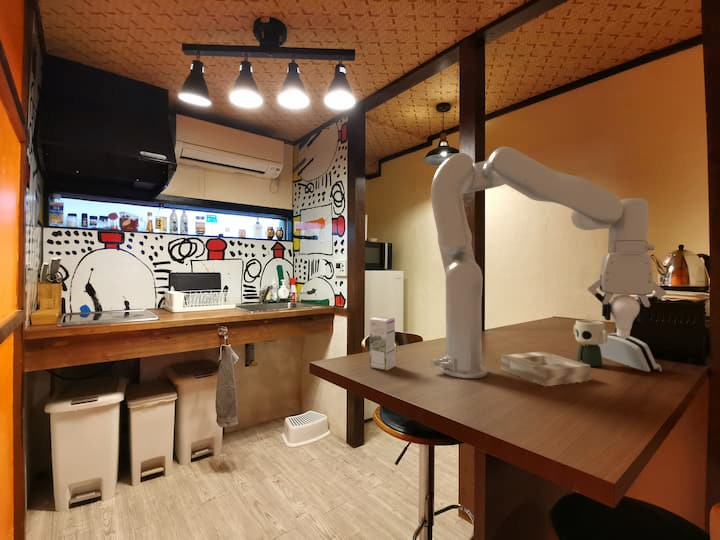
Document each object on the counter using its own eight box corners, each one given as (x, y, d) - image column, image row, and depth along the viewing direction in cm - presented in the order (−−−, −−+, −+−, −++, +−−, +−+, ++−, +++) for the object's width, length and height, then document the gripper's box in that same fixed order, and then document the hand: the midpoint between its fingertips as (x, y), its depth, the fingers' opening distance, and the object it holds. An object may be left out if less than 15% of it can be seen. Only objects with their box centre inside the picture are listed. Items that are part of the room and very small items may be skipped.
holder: (544, 387, 80) (544, 370, 80) (500, 369, 95) (500, 355, 94) (590, 380, 85) (590, 365, 85) (541, 364, 99) (541, 351, 99)
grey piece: (663, 371, 93) (652, 338, 92) (648, 377, 92) (637, 344, 92) (613, 355, 109) (604, 327, 109) (600, 360, 109) (591, 332, 109)
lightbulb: (601, 336, 86) (603, 293, 85) (623, 336, 86) (625, 294, 86) (622, 341, 79) (624, 296, 79) (645, 342, 80) (647, 296, 80)
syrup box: (395, 366, 98) (395, 317, 98) (386, 371, 93) (386, 319, 93) (378, 363, 101) (378, 315, 101) (368, 368, 96) (368, 318, 96)
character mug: (564, 360, 103) (564, 319, 103) (583, 359, 105) (583, 318, 105) (596, 371, 93) (596, 325, 93) (617, 369, 94) (617, 324, 94)
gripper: (666, 250, 82) (663, 322, 82) (583, 249, 90) (580, 316, 90) (678, 248, 75) (675, 327, 75) (587, 248, 83) (584, 319, 83)
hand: (623, 320), depth 83 cm, fingers closed on lightbulb, 6 cm apart
